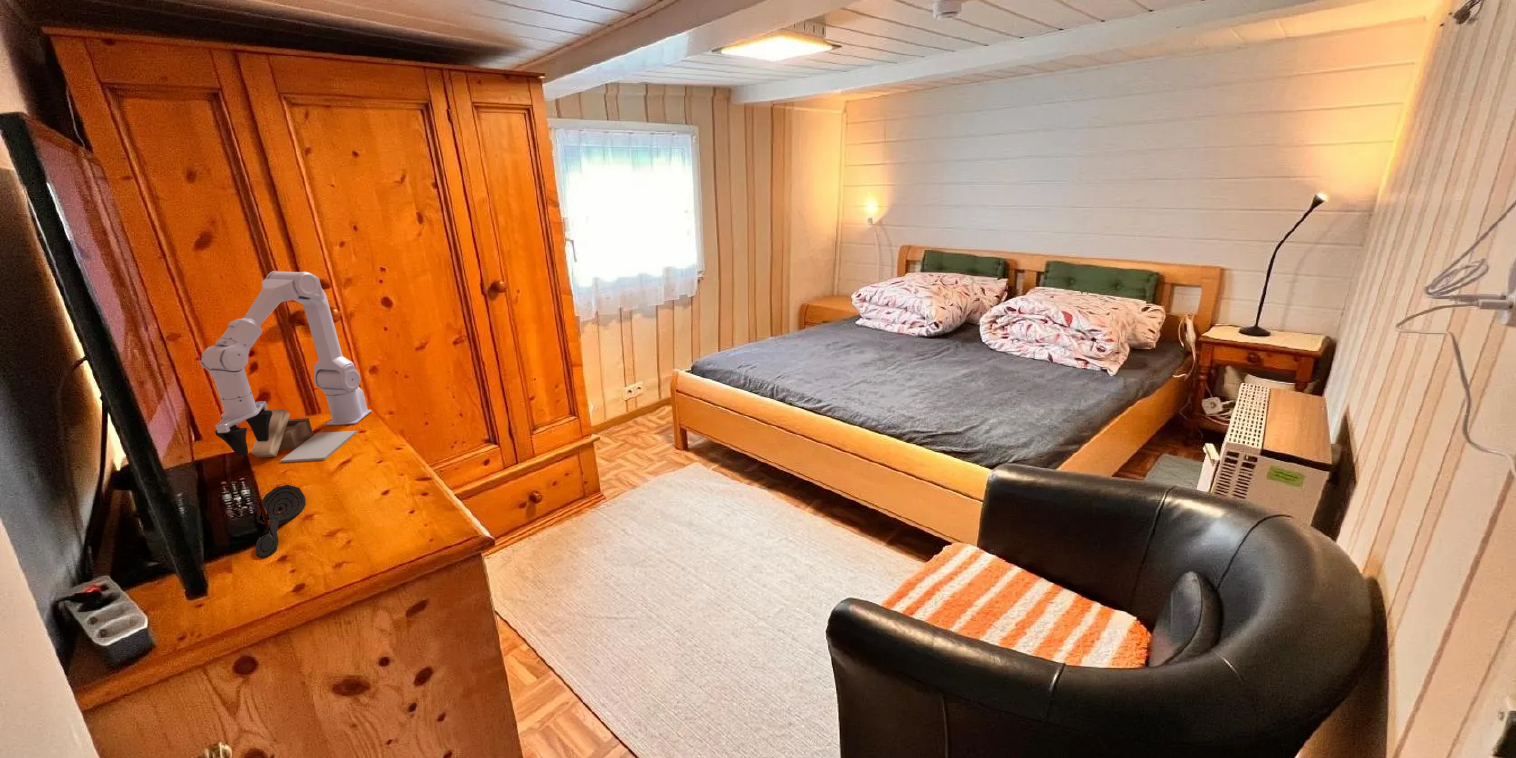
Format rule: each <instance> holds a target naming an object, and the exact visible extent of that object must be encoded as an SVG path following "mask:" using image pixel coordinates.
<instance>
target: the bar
mask: <svg viewBox="0 0 1516 758" xmlns="http://www.w3.org/2000/svg"><path fill="white" fill-rule="evenodd" d="M267 410H268V409H266V410H265V411H267ZM270 410H271V411H272V413H273V414H272V416H271V419H270V423H269V439H268V441H257V439H256V438H255V440H254V443H253V447H252V448H251V454H252V455H254V456H256V457H257V458H258V459H259V458H260V459H262V458H274V457H275V458H277V456H278V453H279V447H280V444H281V441H282V438H283V435H284V432H285V429H286V426H287V423H288V420H289V419H290V416H291V413H290V412H288V411H287V410H285V409H284V408H276V409H275V408H274V409H270Z"/></svg>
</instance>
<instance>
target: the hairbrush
mask: <svg viewBox="0 0 1516 758" xmlns="http://www.w3.org/2000/svg"><path fill="white" fill-rule="evenodd" d="M270 486H271V488H272V490H270V491H268V493H267V492H266V494H265V496H264V497H263V494H262V495H261V497H263V499H262V498H261V497H259V498H260V500H261V502H263V504H262V505H263V506H264V508H265V509H266V511H267V513H268V514H267V515H268V516H267V517H268V518H269V523H268V524H269V528H270V530H269V533H268V534H266V535H264V536H262V537H260V536H259V537H258V539H257V541H256V542H255V553H256V556H257V557H258V558H260V559H265V558H269V557H271V556H272V555H274V554H275V553H276V552H277V550H278V547H279V535H278V530H279V529H278V528H279V525H281V524H285V523H288V522H290V521H292V520H294V519H295V518H297V517H298V516H299V515H300V514H301V513H302V512H303V511H304V509H305V506H306V504H307V502H306V496H305V494H304V493H303V492H302V490H301V488H300V487H298V486H296V485H292V484H286V483H285V482H284V483H283V485H280V486H276V487H275V485H273V486H272V485H270ZM273 487H274V488H273Z"/></svg>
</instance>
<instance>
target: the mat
mask: <svg viewBox="0 0 1516 758" xmlns="http://www.w3.org/2000/svg"><path fill="white" fill-rule="evenodd" d="M357 433H358V431H357V430H346V431H344V430H343V431H328V432H327V431H326V432H317V433H315V434H313V436H312V437H310V438H309V439H308V440H306V441H305V442H304V443H302V444H301V445H300V446H298V447H297V448H296V449H292V451H291V452H290V453H288V454H286V455H285V456H284V457H283V458H282V459H280V463H282V464H283V463H293V462H294V463H296V462H297V463H299V462H309V461H311V462H312V461H313V462H314V461H326V460H327V459H328V458H329V457H331V456H332V455H333V454H334V453H335V452H337V451H338V450H339V449H340V448H341V447H342V446H343V445H344V444H346V443H347V442H348V441H350V439H351V437H352V436H353V435H354V436H355V435H356V434H357ZM354 436H353V437H354ZM353 437H352V438H353Z"/></svg>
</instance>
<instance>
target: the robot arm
mask: <svg viewBox="0 0 1516 758" xmlns="http://www.w3.org/2000/svg"><path fill="white" fill-rule="evenodd" d="M320 281H321V280H320V278H319V276H316V275H315V274H313V273H312V272H308V271H280V270H273V271H270V272H269V273H268V274H267V275H266V277H265V279H263V280H262V281H261V287H262V288H261V290H260V291H259V293H258V295H257V297H256V298H255V299H254V301H253V303H252V304H251V306H250V307H249V309H248V311H247V312H246V314H245V315H244V317H242V318H237V319H234V320H233V321H231V320H230V321H229V323H228V324H227V326H228V327H227V328H226V330H225V331H224V332H223V333H222V335H221V337H219V338H218V339H217V340H216V341H215V345H211V346H207V348H205V350H204V351H203V352H202V354H201V360H199V364H200V365H201V366H202V368H204V369H206V371H208V372H209V376H210V377H212V378H213V381H214V384H215V388H216V390H217V393H218V396H219V399H220V402H221V405H222V408H223V411H224V413H223V412H222V414H220V417H221V418H222V419H221V420H220V421H219V422H218V423H217V424H215V431H214V432H215V433H214V434H215V435H216V436H217V437H219V438H220V439H221V440H223V441H224V442H225V443H226V444H227V445H228V446H229V447H230V449H231V450H232V451H233V452H234V454H235V455H236V456H247V455H248V454H249V448H248V443H247V431H248V427H239V426H238V425H239V424H241V423H242V422H245V421H246V423H247V425H248V426H249V427H250V428H251V430H252V433H253V436H254V437H255V440H256V439H257V441H268V439H269V423H270V419H271V416H272V414H273V413H272V411H271V410H272V409H268V408H269V407H268V404H267V401H266V400H264V401H263V400H261V401H260V400H259V401H256V402H255V399H254V395H253V392H252V389H251V386H250V383H249V382H250V381H249V380H248V377H247V372H246V368H245V367H246V366H248V364H249V354H250V350H251V349H252V347H253V346H254V345H255V343H256V342H257V340H259V338H260V337H261V335H262V334H263V330H262V327H261V325H262V324H263V323H265V321H266V320H267V318H268V317H269V316H270V315H271V314H272V313H273V312H274V311H275V310H276V308H277V307H278V306H279V305H280V304H281V303H283V302H289V301H295V302H297V303H298V304H301V305H302V306H303V309H304V312H305V316H306V320H307V323H308V326H309V330H310V334H311V338H312V341H313V343H314V348H315V351H316V354H317V358H318V361H317V362H316V363H314V365H313V371H314V376H313V382H314V385H315V386H316V387H317V388H319V390H320V389H321V391H322V393H324V394H325V398H326V401H327V405H328V409H329V412H330V416H331V419H329V421H327V422H326V423H325V425H326V426H339V425H340V426H341V425H355V424H358V423H359V422H360V421H361V420H362V419H364V418H365V417H366V416H367V415H369V414H370V413H371V412H372V409H368V406H367V401H366V398H365V394H364V391H363V389H362V388H361V387H359V386H360V384H361V375H360V372H359V371H358V370H357V369H356V367H355V363H354V362H353V361H351V360H350V359H348V358H346V357H345V356H344V355H343V352H342V349H341V345H340V341H339V338H338V333H337V330H336V327H335V322H334V319H333V316H332V315H333V314H332V312H331V308H330V305H329V301H328V297H327V293H326V292H325V291H324V289H323V288H322V285H321V282H320ZM266 410H267V411H266Z"/></svg>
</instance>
